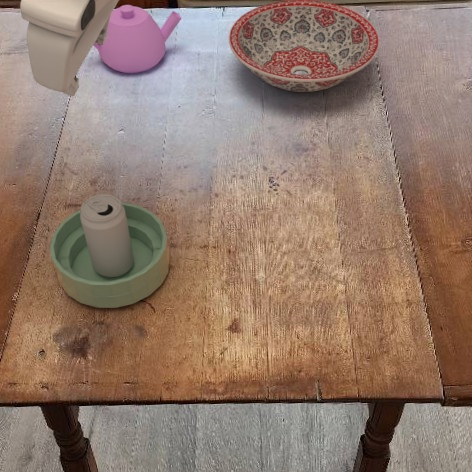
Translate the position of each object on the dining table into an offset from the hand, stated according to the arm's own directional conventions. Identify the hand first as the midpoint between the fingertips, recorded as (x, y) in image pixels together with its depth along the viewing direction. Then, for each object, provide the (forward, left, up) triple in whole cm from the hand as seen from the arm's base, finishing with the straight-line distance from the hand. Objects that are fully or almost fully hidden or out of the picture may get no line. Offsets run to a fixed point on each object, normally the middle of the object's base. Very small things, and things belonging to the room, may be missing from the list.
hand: (84, 64), depth 86 cm
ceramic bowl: (+31, +47, -31) cm, 64 cm away
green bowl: (0, -7, -30) cm, 31 cm away
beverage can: (0, -7, -30) cm, 31 cm away
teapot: (-3, +53, -31) cm, 61 cm away
